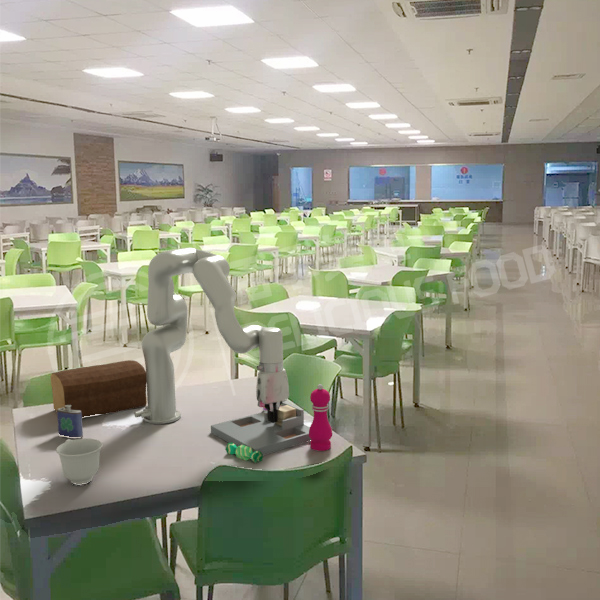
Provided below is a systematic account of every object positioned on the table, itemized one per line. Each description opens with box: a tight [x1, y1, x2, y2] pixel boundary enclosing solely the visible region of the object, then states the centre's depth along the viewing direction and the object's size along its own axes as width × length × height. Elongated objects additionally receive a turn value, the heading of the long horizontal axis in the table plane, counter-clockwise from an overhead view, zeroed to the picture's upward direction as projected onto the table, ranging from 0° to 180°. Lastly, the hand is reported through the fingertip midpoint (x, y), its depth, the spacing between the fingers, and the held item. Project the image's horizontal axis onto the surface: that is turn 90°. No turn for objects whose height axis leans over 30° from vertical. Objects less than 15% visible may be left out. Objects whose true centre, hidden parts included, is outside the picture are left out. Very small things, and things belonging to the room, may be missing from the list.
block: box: [275, 405, 296, 426], centre depth 219 cm, size 5×5×5 cm
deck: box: [210, 401, 311, 456], centre depth 215 cm, size 24×26×8 cm
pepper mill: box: [309, 383, 333, 452], centre depth 203 cm, size 7×7×20 cm
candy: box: [224, 442, 264, 464], centre depth 198 cm, size 12×3×4 cm
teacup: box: [55, 438, 103, 484], centre depth 184 cm, size 12×15×10 cm
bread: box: [50, 359, 148, 417], centre depth 243 cm, size 18×30×16 cm, turn 124°
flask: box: [56, 405, 84, 438], centre depth 215 cm, size 9×3×11 cm, turn 68°
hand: (272, 421), depth 216 cm, fingers closed
